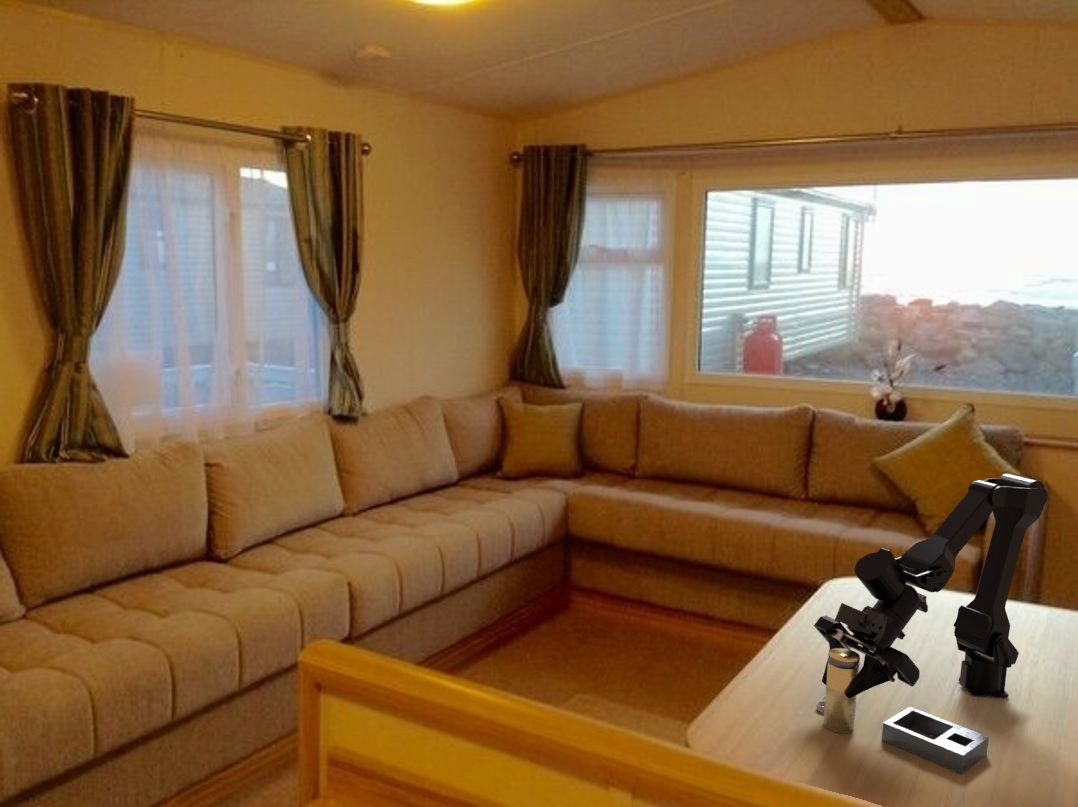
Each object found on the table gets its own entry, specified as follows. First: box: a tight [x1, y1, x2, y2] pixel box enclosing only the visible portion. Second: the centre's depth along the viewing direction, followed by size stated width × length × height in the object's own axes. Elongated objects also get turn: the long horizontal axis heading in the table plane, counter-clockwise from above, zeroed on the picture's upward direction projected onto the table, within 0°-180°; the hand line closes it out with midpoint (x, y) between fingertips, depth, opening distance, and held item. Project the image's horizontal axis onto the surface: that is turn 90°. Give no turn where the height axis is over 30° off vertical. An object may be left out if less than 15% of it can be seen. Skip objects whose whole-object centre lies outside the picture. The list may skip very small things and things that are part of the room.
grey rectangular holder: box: [881, 706, 990, 775], centre depth 146 cm, size 13×9×3 cm
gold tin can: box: [822, 648, 861, 734], centre depth 151 cm, size 5×5×12 cm
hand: (835, 689), depth 150 cm, fingers closed on gold tin can, 5 cm apart
